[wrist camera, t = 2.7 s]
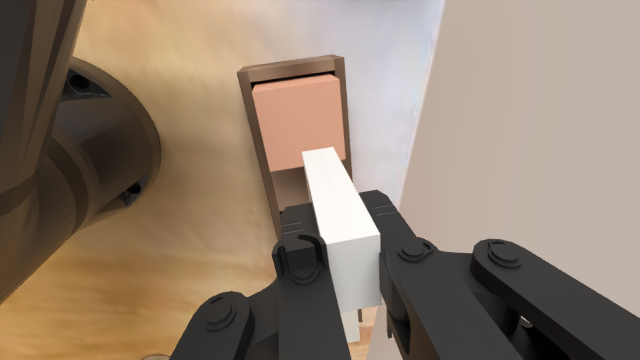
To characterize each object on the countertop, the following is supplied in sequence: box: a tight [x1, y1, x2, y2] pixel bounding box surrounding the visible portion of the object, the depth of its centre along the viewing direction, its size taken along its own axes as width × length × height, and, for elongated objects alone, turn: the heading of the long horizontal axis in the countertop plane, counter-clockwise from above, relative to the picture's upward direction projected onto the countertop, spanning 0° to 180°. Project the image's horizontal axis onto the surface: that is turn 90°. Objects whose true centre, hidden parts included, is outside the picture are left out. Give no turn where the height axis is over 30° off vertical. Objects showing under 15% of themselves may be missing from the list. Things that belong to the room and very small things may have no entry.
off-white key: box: [340, 310, 360, 343], centre depth 33 cm, size 6×6×5 cm
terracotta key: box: [252, 72, 346, 172], centre depth 22 cm, size 6×6×5 cm
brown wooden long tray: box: [237, 55, 362, 322], centre depth 30 cm, size 8×32×5 cm, turn 7°
